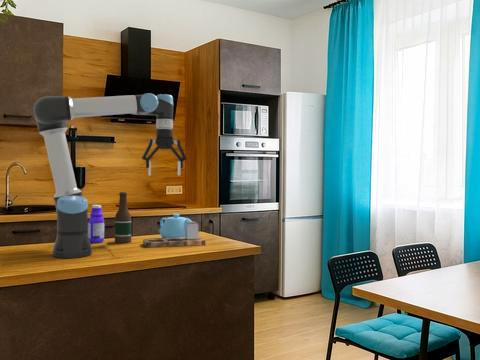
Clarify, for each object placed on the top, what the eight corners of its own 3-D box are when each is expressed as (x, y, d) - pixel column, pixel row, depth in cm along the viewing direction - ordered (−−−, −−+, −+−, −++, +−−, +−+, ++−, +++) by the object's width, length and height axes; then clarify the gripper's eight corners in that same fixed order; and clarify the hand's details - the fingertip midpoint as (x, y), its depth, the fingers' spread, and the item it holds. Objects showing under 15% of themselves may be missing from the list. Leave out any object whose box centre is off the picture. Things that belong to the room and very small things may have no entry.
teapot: (150, 240, 233) (150, 214, 233) (171, 234, 252) (172, 210, 251) (185, 243, 226) (186, 216, 225) (205, 237, 244) (205, 212, 243)
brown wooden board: (146, 250, 206) (146, 242, 206) (143, 246, 216) (143, 239, 216) (205, 247, 215) (205, 240, 215) (199, 243, 225) (199, 236, 225)
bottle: (99, 240, 231) (99, 204, 230) (106, 241, 227) (106, 205, 227) (86, 242, 225) (86, 205, 225) (93, 243, 222) (93, 206, 221)
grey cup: (187, 244, 215) (187, 223, 215) (184, 242, 220) (184, 221, 219) (198, 243, 217) (198, 222, 216) (195, 242, 221) (195, 221, 221)
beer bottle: (134, 243, 223) (134, 191, 222) (128, 246, 215) (128, 192, 215) (117, 243, 224) (117, 191, 223) (111, 246, 216) (111, 192, 215)
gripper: (138, 127, 212) (138, 175, 213) (193, 129, 221) (192, 175, 222) (135, 128, 219) (135, 175, 220) (189, 130, 228) (189, 175, 229)
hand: (164, 175), depth 221 cm, fingers open, 13 cm apart
